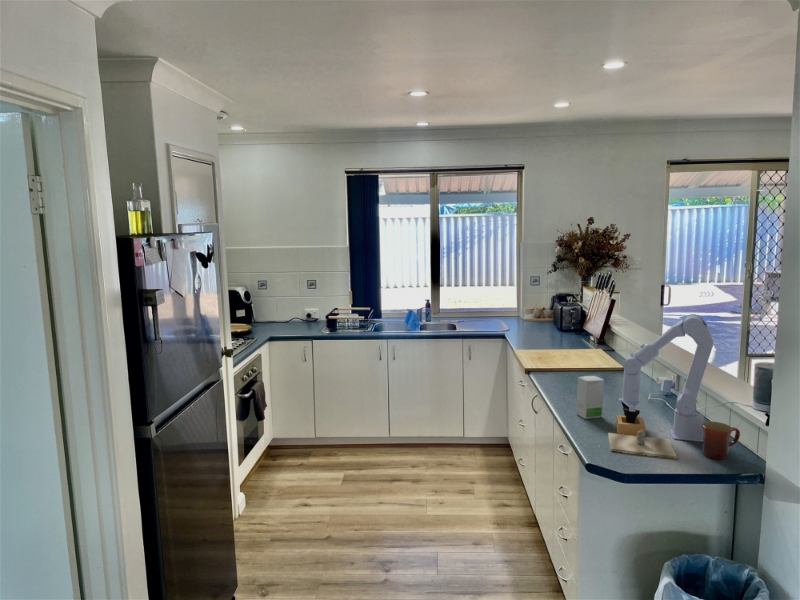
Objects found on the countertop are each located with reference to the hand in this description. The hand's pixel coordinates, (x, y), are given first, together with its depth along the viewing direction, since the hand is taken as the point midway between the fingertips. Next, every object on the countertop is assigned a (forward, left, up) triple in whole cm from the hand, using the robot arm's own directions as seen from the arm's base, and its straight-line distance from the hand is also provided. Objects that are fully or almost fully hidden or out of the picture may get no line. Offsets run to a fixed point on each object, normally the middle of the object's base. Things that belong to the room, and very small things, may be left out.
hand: (629, 423), depth 199 cm
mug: (-26, +18, -2) cm, 31 cm away
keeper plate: (-2, +18, -1) cm, 18 cm away
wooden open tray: (0, +4, -1) cm, 4 cm away
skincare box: (+14, -8, -2) cm, 16 cm away
